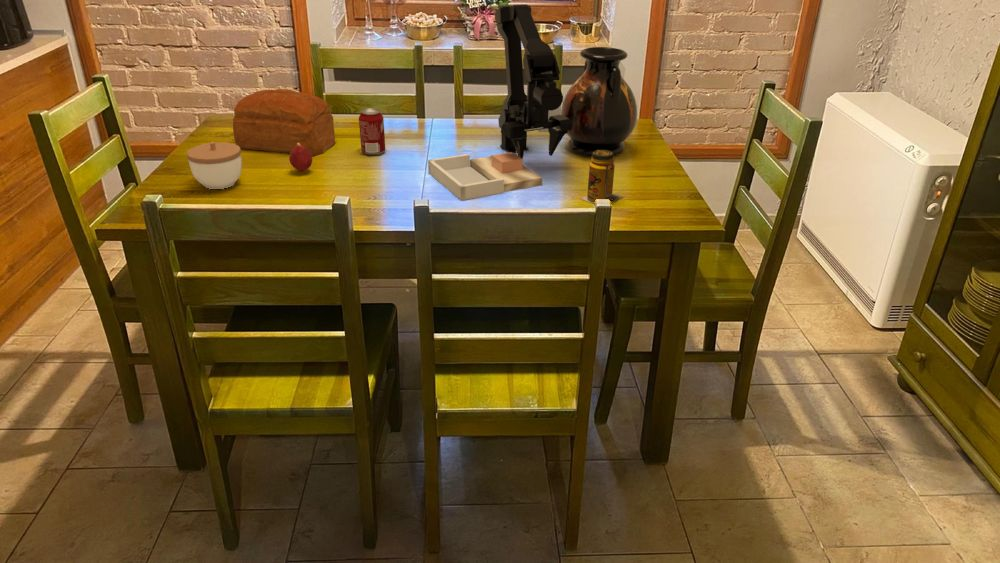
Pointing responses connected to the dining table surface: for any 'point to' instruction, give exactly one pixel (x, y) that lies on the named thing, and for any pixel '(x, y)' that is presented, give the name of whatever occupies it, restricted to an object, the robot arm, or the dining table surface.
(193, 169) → the lidded bowl
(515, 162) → the block
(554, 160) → the dining table surface
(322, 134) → the bread
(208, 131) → the dining table surface
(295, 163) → the onion
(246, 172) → the dining table surface
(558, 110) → the grey rectangular box
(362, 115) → the soda can
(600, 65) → the amphora vase
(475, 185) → the box
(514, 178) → the wooden board
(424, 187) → the dining table surface
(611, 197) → the condiment
